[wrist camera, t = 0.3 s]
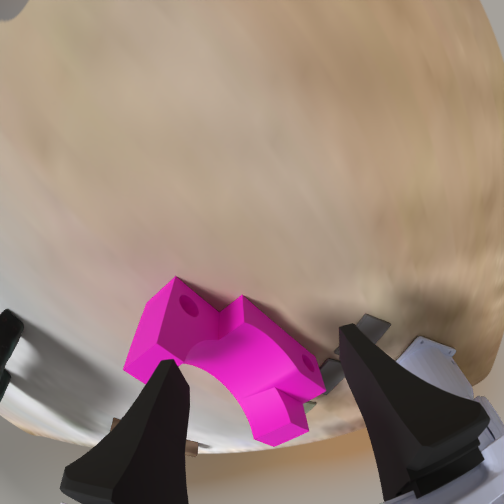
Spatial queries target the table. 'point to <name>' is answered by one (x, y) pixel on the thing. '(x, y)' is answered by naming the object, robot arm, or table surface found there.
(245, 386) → the toy block
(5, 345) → the ceramic cat
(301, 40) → the table surface
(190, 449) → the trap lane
